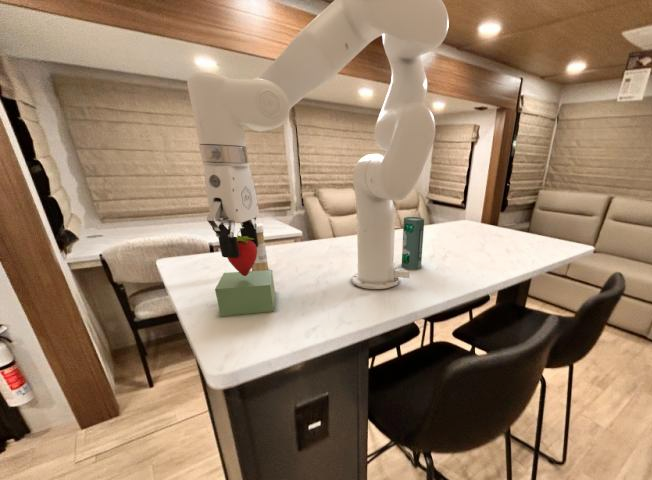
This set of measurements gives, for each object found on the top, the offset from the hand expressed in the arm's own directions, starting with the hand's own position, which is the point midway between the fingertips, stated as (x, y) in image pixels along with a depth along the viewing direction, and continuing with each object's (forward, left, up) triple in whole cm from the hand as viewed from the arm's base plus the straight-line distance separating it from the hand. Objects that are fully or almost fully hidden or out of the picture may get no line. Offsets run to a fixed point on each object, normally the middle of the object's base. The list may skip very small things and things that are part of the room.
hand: (241, 251), depth 63 cm
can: (-36, -33, -12) cm, 50 cm away
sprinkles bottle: (+7, -21, -12) cm, 25 cm away
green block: (0, 0, -12) cm, 12 cm away
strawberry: (0, 0, -6) cm, 6 cm away
